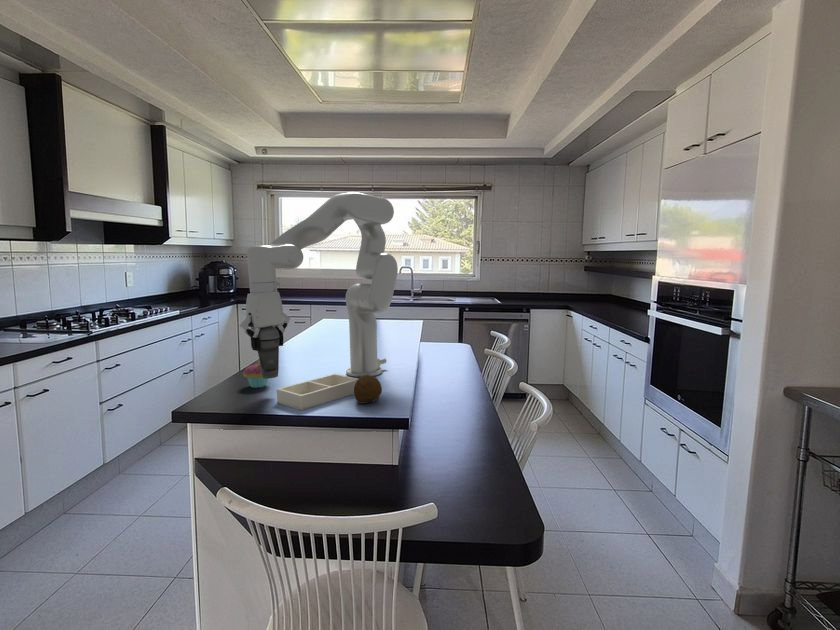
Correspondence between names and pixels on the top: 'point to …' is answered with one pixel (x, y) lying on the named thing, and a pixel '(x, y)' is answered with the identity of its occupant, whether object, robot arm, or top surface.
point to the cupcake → (255, 376)
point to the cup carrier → (316, 391)
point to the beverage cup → (269, 351)
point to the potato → (367, 389)
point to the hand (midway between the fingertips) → (268, 347)
